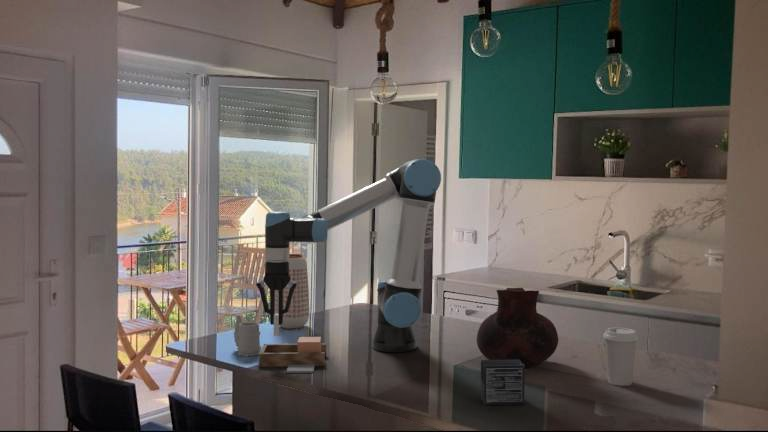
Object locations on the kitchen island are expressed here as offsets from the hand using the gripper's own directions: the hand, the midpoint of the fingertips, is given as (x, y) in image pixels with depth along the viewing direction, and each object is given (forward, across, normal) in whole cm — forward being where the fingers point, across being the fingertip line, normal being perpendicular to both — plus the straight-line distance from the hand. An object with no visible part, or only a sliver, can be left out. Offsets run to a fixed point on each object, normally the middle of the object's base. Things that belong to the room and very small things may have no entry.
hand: (276, 334), depth 220 cm
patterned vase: (+9, -1, -50) cm, 50 cm away
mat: (+8, -9, +10) cm, 16 cm away
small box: (+8, -64, +42) cm, 76 cm away
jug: (+8, -76, +6) cm, 76 cm away
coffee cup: (+7, -101, +26) cm, 104 cm away
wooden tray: (+8, -6, 0) cm, 10 cm away
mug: (+9, +11, -12) cm, 19 cm away
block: (+9, -11, 0) cm, 14 cm away
